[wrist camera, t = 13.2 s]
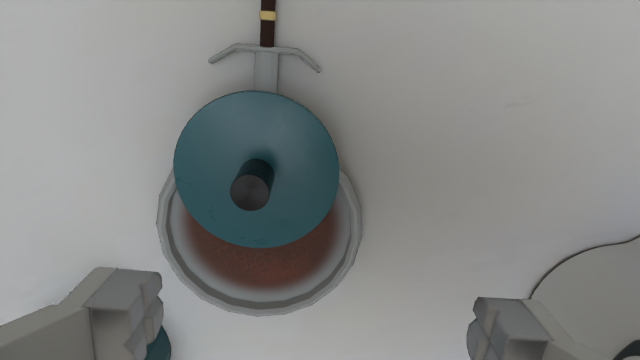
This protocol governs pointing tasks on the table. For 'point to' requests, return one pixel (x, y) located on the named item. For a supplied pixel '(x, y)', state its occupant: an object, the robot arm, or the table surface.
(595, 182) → the table surface
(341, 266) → the frying pan
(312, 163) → the lid
